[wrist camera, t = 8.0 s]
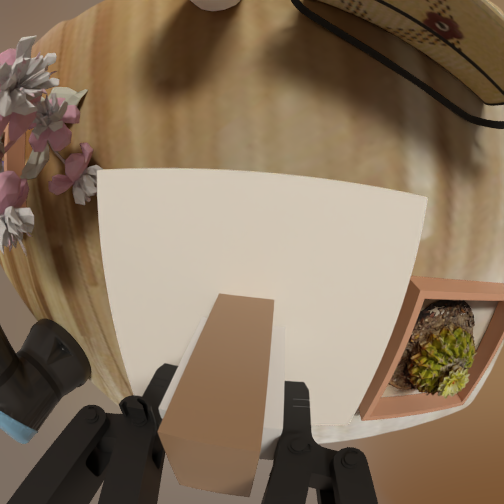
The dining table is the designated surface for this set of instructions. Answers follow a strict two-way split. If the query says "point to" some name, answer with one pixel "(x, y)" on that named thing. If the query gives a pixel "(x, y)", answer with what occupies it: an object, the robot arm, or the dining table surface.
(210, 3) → the foam cup
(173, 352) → the board
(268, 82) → the dining table surface
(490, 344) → the cactus tray
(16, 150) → the flower tray
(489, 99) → the clutch purse
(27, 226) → the flower
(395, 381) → the cactus
